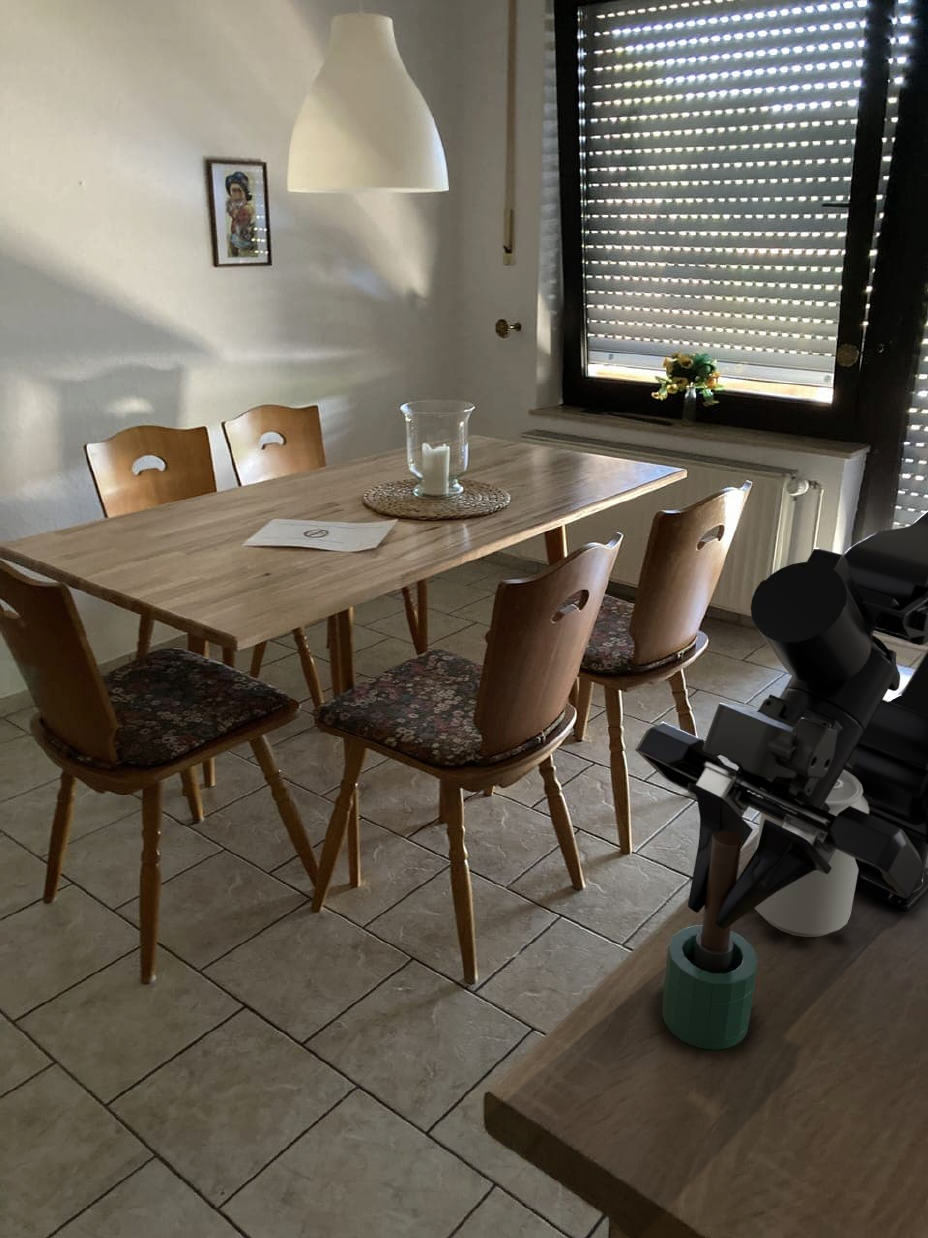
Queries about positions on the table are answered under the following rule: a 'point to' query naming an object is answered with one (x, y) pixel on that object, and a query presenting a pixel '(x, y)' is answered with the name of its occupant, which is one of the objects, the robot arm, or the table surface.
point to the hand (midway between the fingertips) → (705, 918)
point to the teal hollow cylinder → (708, 993)
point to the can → (819, 879)
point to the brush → (718, 904)
